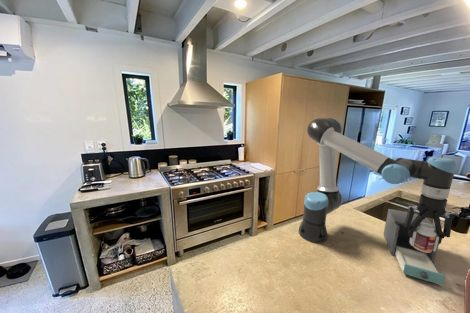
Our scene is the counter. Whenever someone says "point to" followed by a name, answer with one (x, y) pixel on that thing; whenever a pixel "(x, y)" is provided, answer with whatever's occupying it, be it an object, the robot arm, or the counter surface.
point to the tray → (418, 265)
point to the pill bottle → (425, 237)
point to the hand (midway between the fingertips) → (421, 246)
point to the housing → (401, 232)
